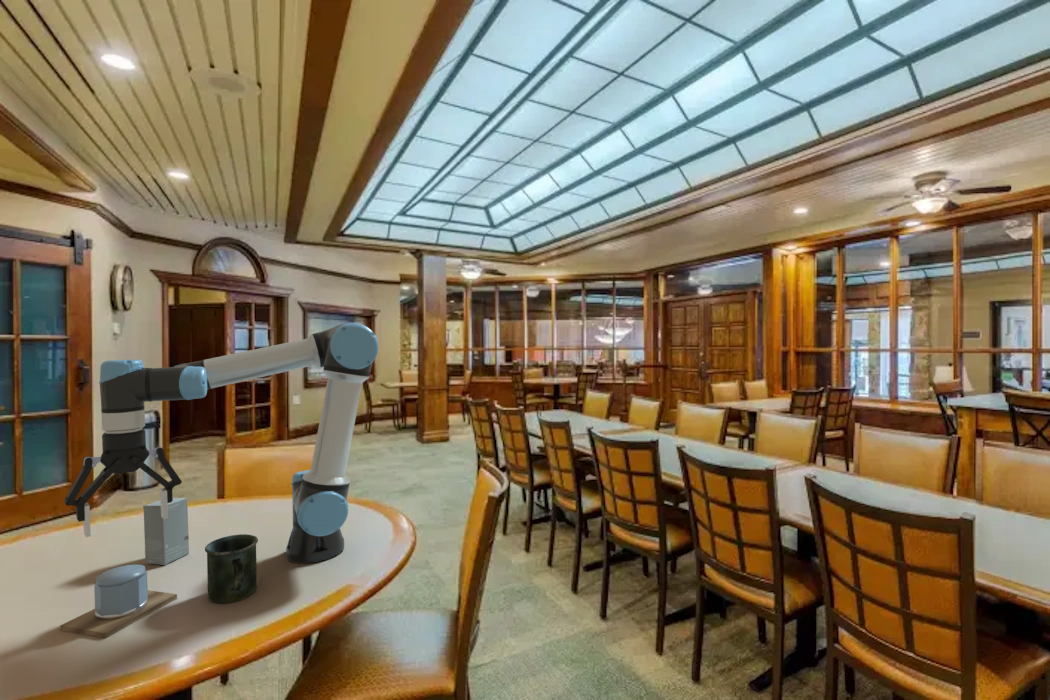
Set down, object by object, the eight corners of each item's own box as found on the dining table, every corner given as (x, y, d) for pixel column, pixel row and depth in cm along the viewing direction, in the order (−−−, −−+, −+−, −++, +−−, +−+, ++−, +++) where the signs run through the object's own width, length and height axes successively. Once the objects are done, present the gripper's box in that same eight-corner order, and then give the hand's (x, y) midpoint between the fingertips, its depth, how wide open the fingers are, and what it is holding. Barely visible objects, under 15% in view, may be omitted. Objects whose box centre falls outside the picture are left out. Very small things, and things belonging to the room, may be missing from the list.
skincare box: (164, 566, 135) (163, 506, 135) (142, 564, 137) (140, 505, 136) (191, 553, 144) (190, 497, 143) (170, 551, 145) (168, 495, 145)
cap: (111, 597, 115) (111, 566, 115) (153, 593, 117) (152, 563, 117) (87, 617, 107) (86, 583, 107) (132, 612, 109) (132, 580, 108)
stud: (157, 601, 115) (157, 572, 115) (117, 622, 107) (116, 591, 106) (126, 596, 117) (125, 568, 117) (84, 617, 109) (83, 587, 109)
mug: (253, 577, 129) (252, 530, 128) (267, 601, 117) (266, 549, 117) (202, 591, 122) (201, 541, 121) (211, 617, 110) (210, 562, 110)
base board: (177, 598, 118) (176, 594, 118) (105, 638, 103) (105, 633, 103) (135, 592, 121) (135, 588, 121) (60, 630, 106) (60, 625, 106)
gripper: (185, 420, 124) (188, 507, 125) (44, 436, 106) (48, 538, 106) (194, 424, 119) (197, 514, 119) (48, 441, 101) (52, 548, 101)
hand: (127, 526), depth 113 cm, fingers open, 13 cm apart
